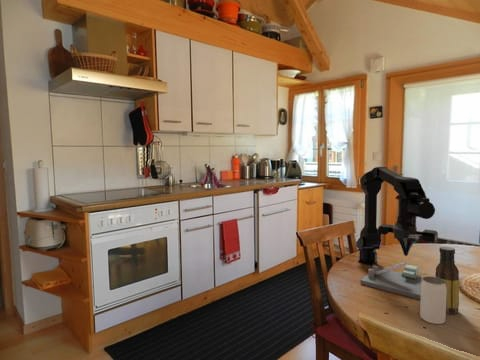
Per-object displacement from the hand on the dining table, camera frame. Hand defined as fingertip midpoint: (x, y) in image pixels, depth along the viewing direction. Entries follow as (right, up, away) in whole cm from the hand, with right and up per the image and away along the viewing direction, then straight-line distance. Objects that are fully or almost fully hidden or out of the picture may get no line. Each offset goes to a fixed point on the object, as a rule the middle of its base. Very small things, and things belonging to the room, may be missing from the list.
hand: (406, 255), depth 116 cm
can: (-3, -14, -21) cm, 26 cm away
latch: (+4, -10, +5) cm, 12 cm away
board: (-1, -12, +3) cm, 12 cm away
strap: (-4, -7, +4) cm, 9 cm away
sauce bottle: (+4, -13, -16) cm, 21 cm away
